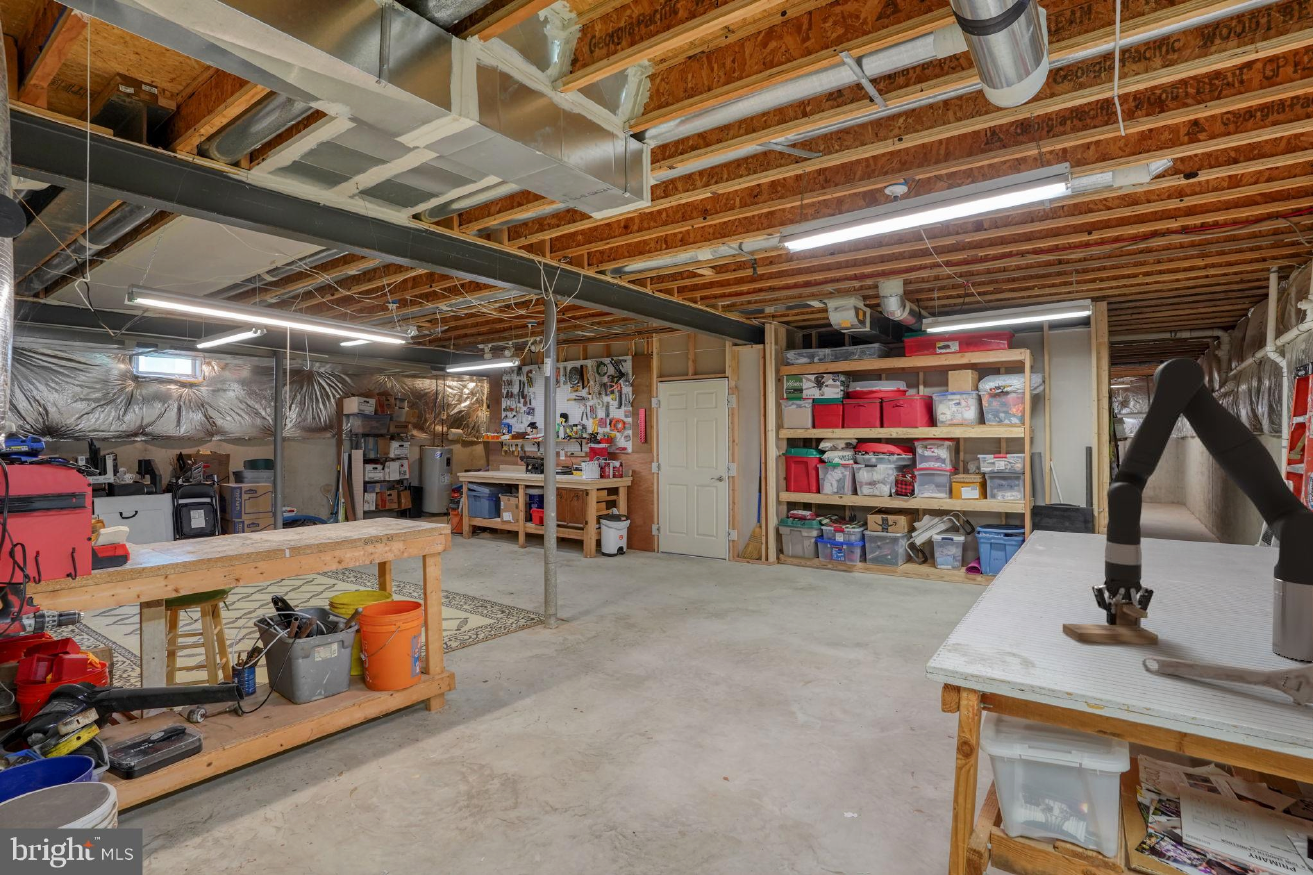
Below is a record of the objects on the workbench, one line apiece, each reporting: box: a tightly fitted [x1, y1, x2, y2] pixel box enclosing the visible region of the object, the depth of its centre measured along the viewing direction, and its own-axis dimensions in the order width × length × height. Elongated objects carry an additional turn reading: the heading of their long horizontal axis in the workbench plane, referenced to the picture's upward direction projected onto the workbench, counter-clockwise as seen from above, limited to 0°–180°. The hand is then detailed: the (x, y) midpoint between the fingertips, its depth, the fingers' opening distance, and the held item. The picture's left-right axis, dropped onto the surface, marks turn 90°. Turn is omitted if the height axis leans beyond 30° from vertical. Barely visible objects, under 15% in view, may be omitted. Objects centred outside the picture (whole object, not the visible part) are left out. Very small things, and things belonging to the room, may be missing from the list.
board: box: [1062, 623, 1159, 645], centre depth 155 cm, size 18×7×2 cm, turn 84°
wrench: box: [1142, 655, 1313, 707], centre depth 125 cm, size 8×2×30 cm
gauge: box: [1116, 600, 1149, 628], centre depth 157 cm, size 4×10×7 cm, turn 174°
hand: (1121, 626), depth 160 cm, fingers closed on gauge, 4 cm apart
